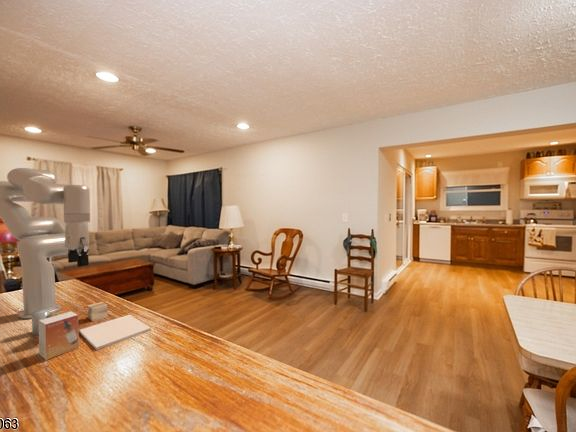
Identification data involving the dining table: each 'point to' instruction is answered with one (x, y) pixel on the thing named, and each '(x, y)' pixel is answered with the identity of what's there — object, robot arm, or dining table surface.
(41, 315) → the light grey domed piece
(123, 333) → the mat
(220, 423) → the dining table surface
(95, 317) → the birch block
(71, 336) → the small box
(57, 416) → the dining table surface
